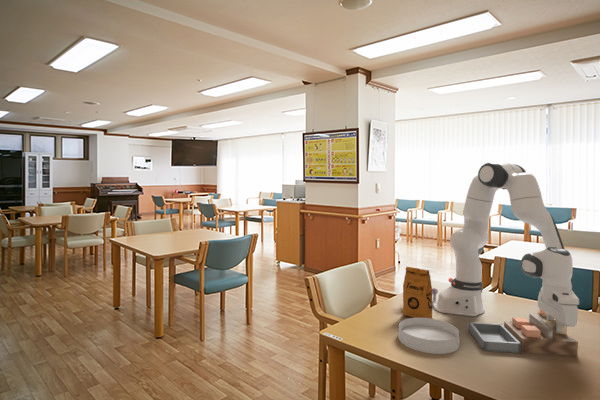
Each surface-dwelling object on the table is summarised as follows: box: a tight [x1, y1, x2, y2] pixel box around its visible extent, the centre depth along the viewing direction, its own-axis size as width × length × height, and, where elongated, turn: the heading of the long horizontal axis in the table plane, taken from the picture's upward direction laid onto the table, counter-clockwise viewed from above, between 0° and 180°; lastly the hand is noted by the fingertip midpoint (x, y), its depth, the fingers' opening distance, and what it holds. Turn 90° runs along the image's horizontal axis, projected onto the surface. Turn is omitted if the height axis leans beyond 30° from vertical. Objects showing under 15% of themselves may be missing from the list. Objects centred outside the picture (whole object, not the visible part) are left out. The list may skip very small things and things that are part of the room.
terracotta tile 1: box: [521, 325, 541, 338], centre depth 134 cm, size 4×4×2 cm
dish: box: [397, 317, 461, 355], centre depth 141 cm, size 22×22×5 cm
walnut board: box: [503, 321, 579, 357], centre depth 138 cm, size 18×16×5 cm
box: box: [468, 321, 522, 354], centre depth 140 cm, size 12×18×4 cm
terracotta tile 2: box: [511, 316, 530, 328], centre depth 142 cm, size 4×4×2 cm
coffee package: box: [402, 266, 434, 319], centre depth 164 cm, size 10×12×22 cm
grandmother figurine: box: [537, 308, 547, 317], centre depth 168 cm, size 8×4×13 cm, turn 5°
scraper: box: [528, 313, 568, 339], centre depth 137 cm, size 9×14×4 cm, turn 172°
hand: (554, 329), depth 137 cm, fingers closed on scraper, 3 cm apart
